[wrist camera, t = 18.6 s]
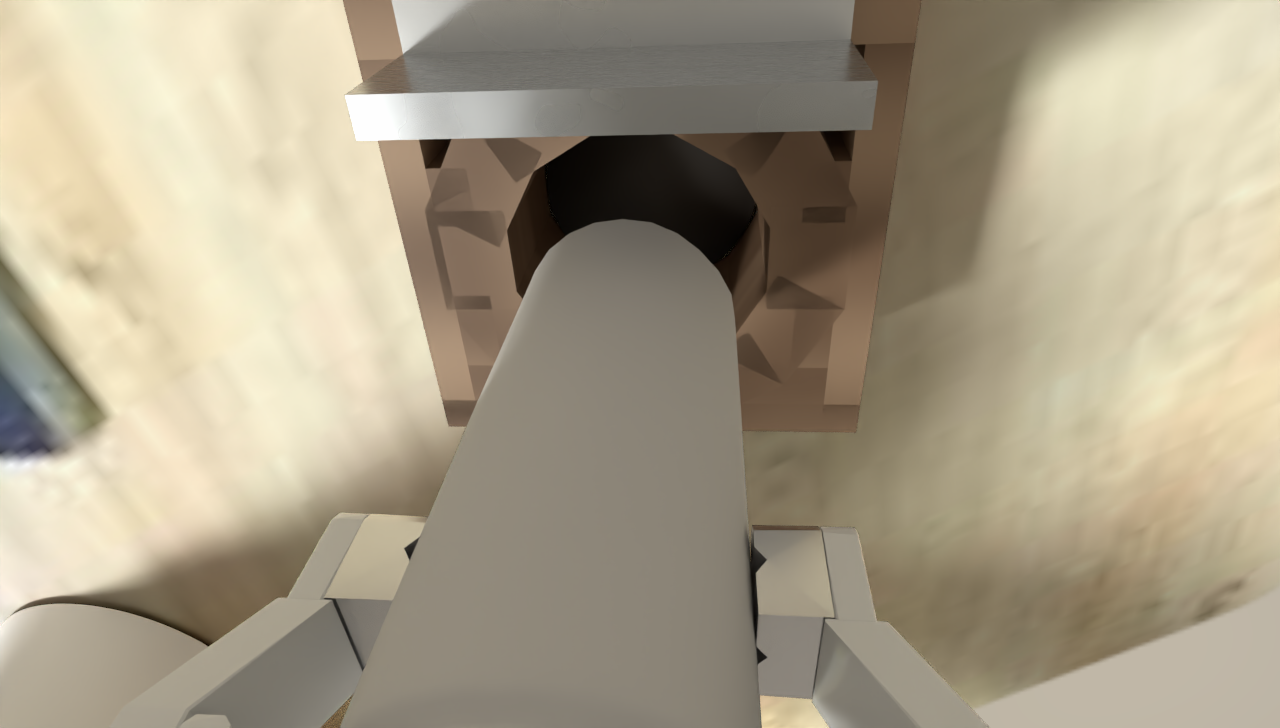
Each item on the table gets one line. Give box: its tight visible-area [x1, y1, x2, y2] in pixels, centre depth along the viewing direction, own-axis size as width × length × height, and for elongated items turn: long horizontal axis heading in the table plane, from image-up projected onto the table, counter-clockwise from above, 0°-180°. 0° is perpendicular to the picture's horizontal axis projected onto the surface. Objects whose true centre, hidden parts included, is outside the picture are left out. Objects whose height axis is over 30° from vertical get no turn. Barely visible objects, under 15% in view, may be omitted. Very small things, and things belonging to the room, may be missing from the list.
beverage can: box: [340, 219, 762, 728], centre depth 13 cm, size 5×5×12 cm
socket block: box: [343, 0, 921, 432], centre depth 20 cm, size 16×12×5 cm
